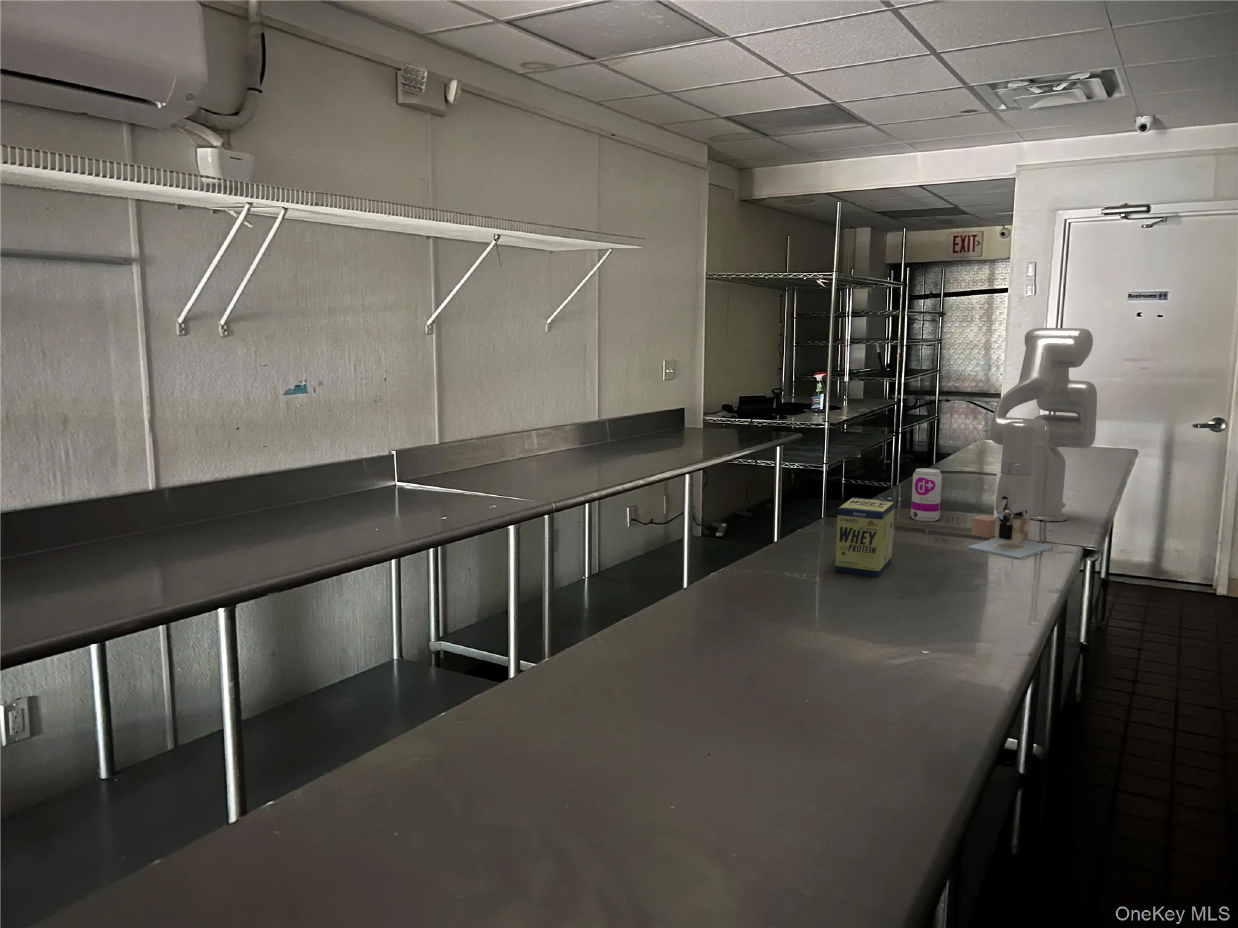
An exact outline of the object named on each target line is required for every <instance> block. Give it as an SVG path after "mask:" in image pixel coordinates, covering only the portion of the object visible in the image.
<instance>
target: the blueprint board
mask: <svg viewBox="0 0 1238 928" xmlns="http://www.w3.org/2000/svg"><path fill="white" fill-rule="evenodd" d="M1049 548H1053V549H1054V546H1053V545H1049V544H1044V543H1040V542H1039V543H1037V542H1033V541H1028V540H1027V541H1023V542H1020V543H1017V544H1016V543H1011V542H1006V541H1001V540H996V539H994V538H992V539H991V538H990V539H988V540H985V541H982V542H979V543H975V544H972V545H968V546H967V550H971V549H973V550H972V551H976V550H977V552H981V551H983V552H982V553H986V552H989V553H988V554H990V553H991V554H992V555H995V554H998V555H997V556H1000V555H1004V556H1003V557H1005V556H1007V557H1006V558H1010V557H1012V558H1011V559H1015V558H1018V559H1017V560H1019V559H1021V558H1024V557H1027V558H1029V557H1028V556H1030V555H1032V556H1034V555H1033V554H1035V555H1037V554H1036V553H1038V552H1041V551H1044V550H1046V549H1049ZM1044 552H1045V551H1044ZM1041 553H1042V552H1041ZM1038 554H1039V553H1038ZM1030 557H1031V556H1030ZM1024 559H1025V558H1024ZM1021 560H1022V559H1021Z"/></svg>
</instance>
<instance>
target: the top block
mask: <svg viewBox="0 0 1238 928" xmlns="http://www.w3.org/2000/svg"><path fill="white" fill-rule="evenodd" d="M995 524H996V517H992V516H987V515H978V516H974V517H972V519H971V533H970V535H971V536H974V535H978V536H977V537H979V536H982V537H981V538H984V537H988V538H987V539H990V538H989V537H991V538H994V537H993V536H994V535H995Z"/></svg>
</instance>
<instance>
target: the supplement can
mask: <svg viewBox="0 0 1238 928" xmlns="http://www.w3.org/2000/svg"><path fill="white" fill-rule="evenodd" d="M942 483H943V475H942V473H941V470H940V469H936V468H927V467H926V468H925V467H923V468H922V467H921V468H916V469H915V471H914V472H913V474H912V488H911V489H912V491H911V506H910V507H911V508H910V517H912V519H913V520H915V521H920V522H928V521H929V522H936V520H937V521H938V520H939V519H940V517H941V503H942V486H943V485H942Z"/></svg>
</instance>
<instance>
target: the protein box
mask: <svg viewBox="0 0 1238 928" xmlns="http://www.w3.org/2000/svg"><path fill="white" fill-rule="evenodd" d="M895 504H896V501H892V500H891V501H890V500H884V499H883V500H882V499H874V498H873V499H871V498H863V497H852V498H850V499H849V500H847V501H846V502H845V503H843V504H842V505H841V506H839V507H837V517H836V518H837V521H836V522H837V523H836V524H837V525H836V541H835V543H836V544H835V545H836V546H835V564H834V565H835V568H834V570H835V572H840V573H847V574H854V575H861V576H868V577H875V578H879V577H880V576H881V575H882V574H883V573H884V571H885V570H886V569H887V568H888V566H890V564H892V555H893V542H894V541H893V538H894V523H895V521H894V520H895Z"/></svg>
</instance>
